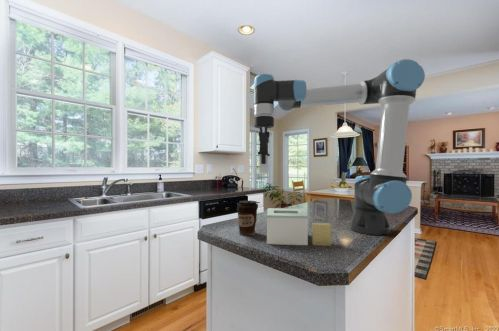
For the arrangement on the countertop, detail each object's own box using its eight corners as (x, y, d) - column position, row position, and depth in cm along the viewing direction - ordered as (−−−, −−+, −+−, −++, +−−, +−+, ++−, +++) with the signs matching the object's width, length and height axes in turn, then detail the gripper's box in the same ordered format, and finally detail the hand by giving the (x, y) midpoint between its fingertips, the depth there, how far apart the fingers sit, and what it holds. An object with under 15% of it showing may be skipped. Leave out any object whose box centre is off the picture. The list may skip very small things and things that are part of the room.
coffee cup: (255, 237, 91) (255, 203, 91) (234, 236, 93) (234, 202, 93) (259, 231, 100) (259, 200, 100) (240, 230, 102) (240, 199, 102)
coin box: (302, 233, 96) (302, 208, 96) (307, 245, 83) (307, 216, 83) (267, 232, 98) (267, 208, 98) (266, 243, 84) (266, 215, 84)
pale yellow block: (329, 242, 85) (329, 223, 85) (331, 245, 82) (331, 225, 82) (311, 242, 86) (311, 222, 86) (313, 245, 83) (313, 224, 83)
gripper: (256, 122, 104) (256, 171, 104) (251, 109, 79) (251, 174, 79) (273, 122, 103) (274, 171, 103) (274, 109, 78) (274, 173, 78)
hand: (264, 172), depth 91 cm, fingers open, 13 cm apart
